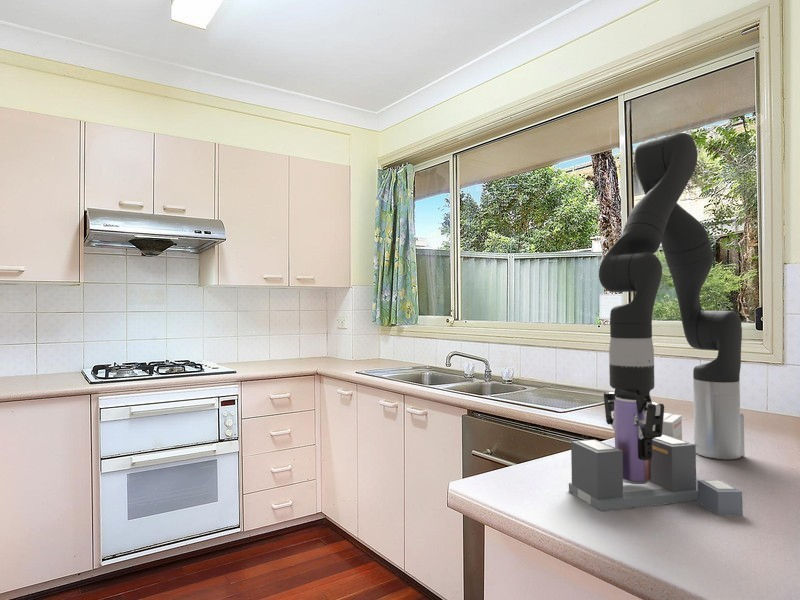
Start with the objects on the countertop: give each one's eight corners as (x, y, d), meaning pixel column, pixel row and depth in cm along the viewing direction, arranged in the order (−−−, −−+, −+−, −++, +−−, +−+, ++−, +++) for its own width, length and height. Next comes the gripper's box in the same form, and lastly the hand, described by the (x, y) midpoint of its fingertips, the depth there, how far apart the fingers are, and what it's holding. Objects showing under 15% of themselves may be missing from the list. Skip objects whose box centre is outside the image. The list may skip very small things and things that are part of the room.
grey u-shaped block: (660, 482, 103) (659, 432, 104) (700, 500, 94) (699, 445, 94) (568, 491, 99) (568, 438, 99) (601, 510, 89) (600, 453, 89)
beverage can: (630, 486, 93) (629, 400, 93) (608, 476, 98) (607, 395, 99) (658, 483, 94) (657, 399, 94) (635, 473, 100) (634, 393, 100)
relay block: (697, 502, 93) (697, 478, 93) (720, 502, 93) (720, 478, 93) (718, 516, 87) (717, 490, 87) (742, 516, 87) (742, 490, 87)
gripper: (678, 365, 90) (679, 464, 90) (624, 358, 104) (625, 443, 104) (640, 367, 89) (641, 468, 89) (590, 359, 103) (591, 446, 103)
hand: (632, 454), depth 96 cm, fingers closed on beverage can, 6 cm apart
